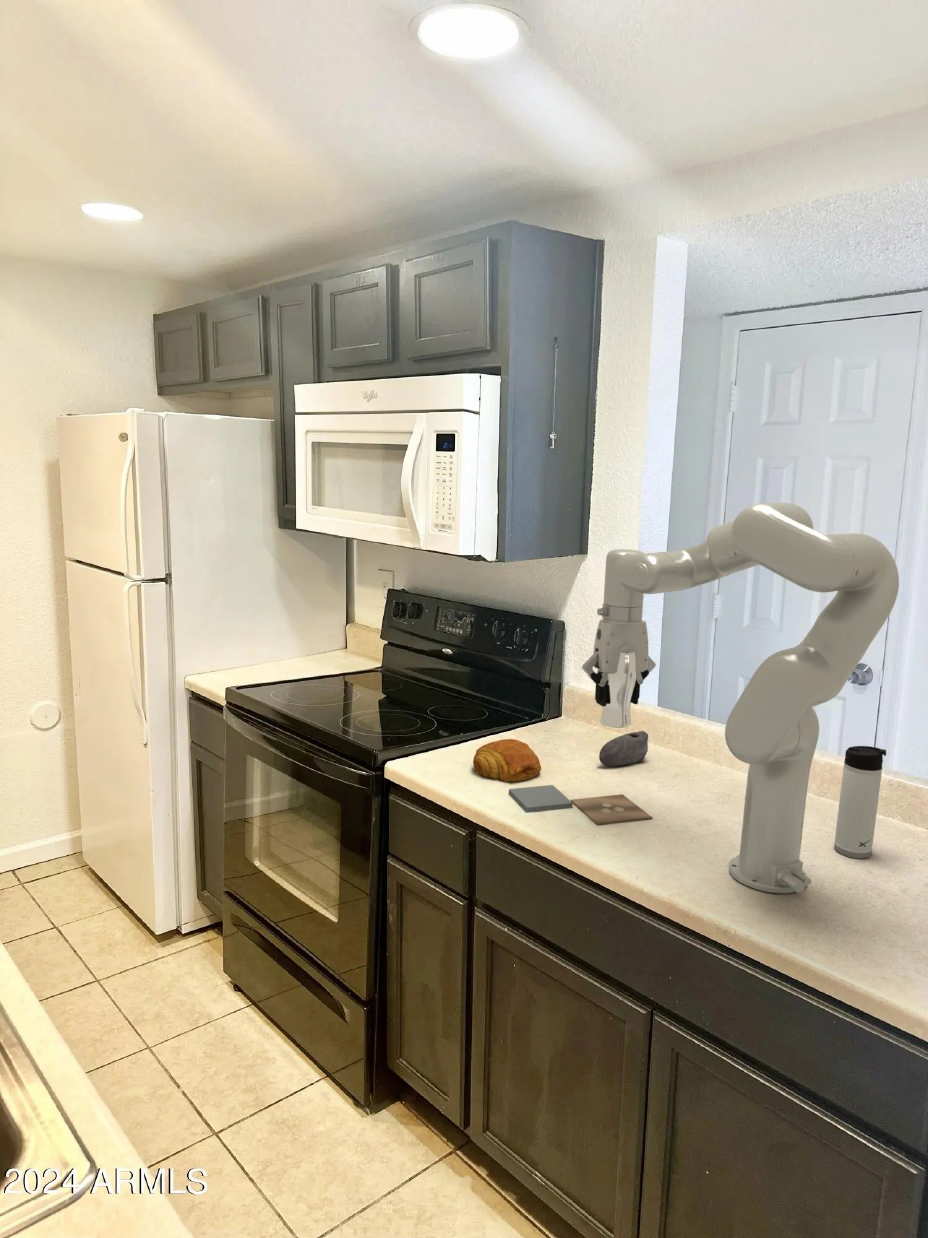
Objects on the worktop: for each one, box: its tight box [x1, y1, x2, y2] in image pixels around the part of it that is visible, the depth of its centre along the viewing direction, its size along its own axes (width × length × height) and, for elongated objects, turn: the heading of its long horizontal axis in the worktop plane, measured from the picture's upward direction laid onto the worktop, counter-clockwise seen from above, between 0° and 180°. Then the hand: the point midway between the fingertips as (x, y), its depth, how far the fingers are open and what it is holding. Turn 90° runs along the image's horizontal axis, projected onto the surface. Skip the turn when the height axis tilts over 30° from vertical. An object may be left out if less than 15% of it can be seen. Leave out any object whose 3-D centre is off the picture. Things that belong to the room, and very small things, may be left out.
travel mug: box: [833, 745, 887, 860], centre depth 152 cm, size 6×7×20 cm
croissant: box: [472, 738, 542, 783], centre depth 188 cm, size 14×16×8 cm
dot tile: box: [570, 794, 653, 826], centre depth 169 cm, size 12×12×1 cm
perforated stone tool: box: [598, 730, 649, 767], centre depth 196 cm, size 15×5×7 cm, turn 122°
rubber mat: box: [508, 784, 574, 813], centre depth 173 cm, size 10×10×1 cm
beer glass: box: [599, 652, 637, 729], centre depth 164 cm, size 7×7×15 cm
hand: (616, 702), depth 165 cm, fingers closed on beer glass, 6 cm apart
